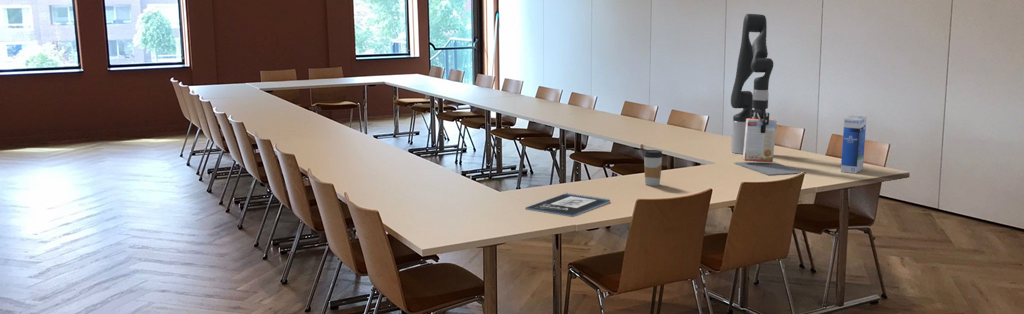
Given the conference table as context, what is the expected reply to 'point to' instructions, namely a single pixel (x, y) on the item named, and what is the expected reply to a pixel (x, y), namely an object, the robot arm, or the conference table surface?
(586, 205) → the sketchbook
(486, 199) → the conference table surface
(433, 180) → the conference table surface
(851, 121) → the blue cardboard box
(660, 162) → the coffee cup
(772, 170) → the mat
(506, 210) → the conference table surface
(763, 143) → the cracker box
